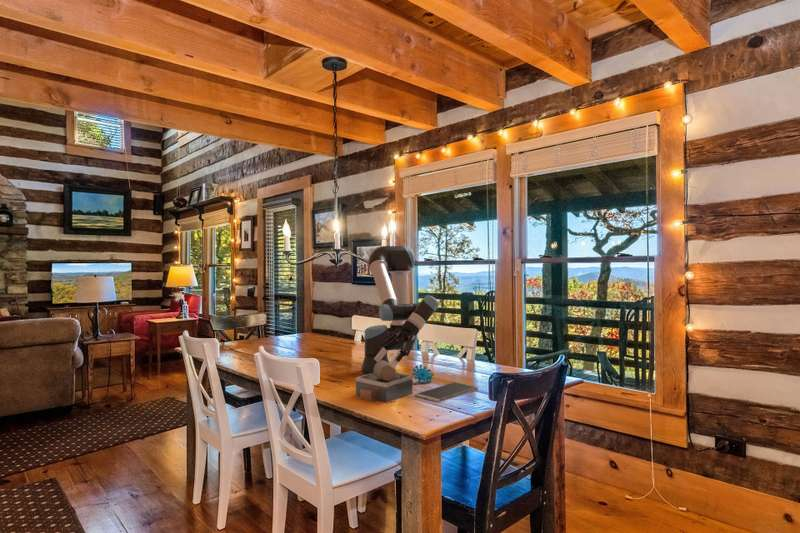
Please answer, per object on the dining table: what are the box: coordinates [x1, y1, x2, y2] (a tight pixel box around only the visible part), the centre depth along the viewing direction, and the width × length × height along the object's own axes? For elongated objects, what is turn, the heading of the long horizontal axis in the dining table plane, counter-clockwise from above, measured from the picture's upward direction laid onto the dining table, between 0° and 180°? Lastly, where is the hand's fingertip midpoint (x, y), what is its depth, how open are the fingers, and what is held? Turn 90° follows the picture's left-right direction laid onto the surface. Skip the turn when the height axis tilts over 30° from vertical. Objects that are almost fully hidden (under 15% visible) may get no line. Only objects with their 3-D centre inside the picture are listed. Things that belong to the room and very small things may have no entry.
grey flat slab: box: [414, 381, 479, 403], centre depth 201 cm, size 13×27×2 cm, turn 134°
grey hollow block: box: [355, 372, 413, 403], centre depth 199 cm, size 17×20×8 cm
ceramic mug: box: [374, 360, 400, 381], centre depth 201 cm, size 11×8×8 cm
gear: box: [412, 364, 435, 385], centre depth 221 cm, size 11×6×10 cm
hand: (383, 363), depth 200 cm, fingers open, 13 cm apart
